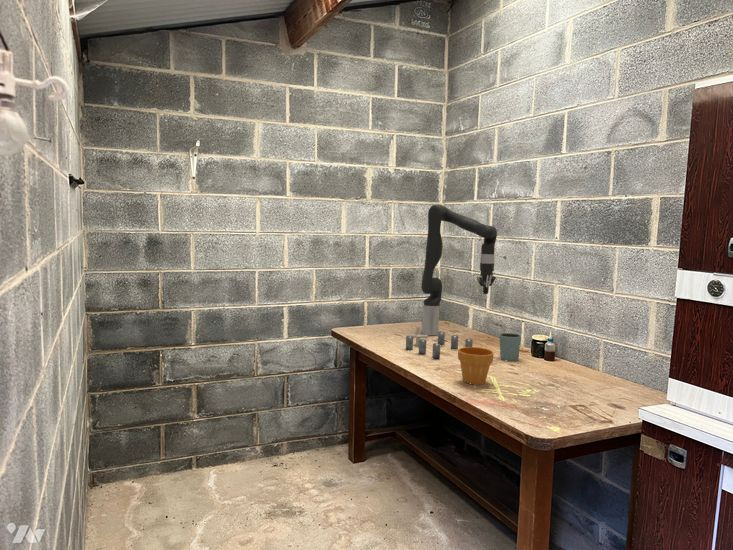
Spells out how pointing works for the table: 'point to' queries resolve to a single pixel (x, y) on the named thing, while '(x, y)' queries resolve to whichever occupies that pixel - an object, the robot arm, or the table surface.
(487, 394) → the table surface
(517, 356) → the grey-blue tapered bin
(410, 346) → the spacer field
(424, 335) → the pipe connector
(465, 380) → the flower pot
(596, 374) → the table surface
